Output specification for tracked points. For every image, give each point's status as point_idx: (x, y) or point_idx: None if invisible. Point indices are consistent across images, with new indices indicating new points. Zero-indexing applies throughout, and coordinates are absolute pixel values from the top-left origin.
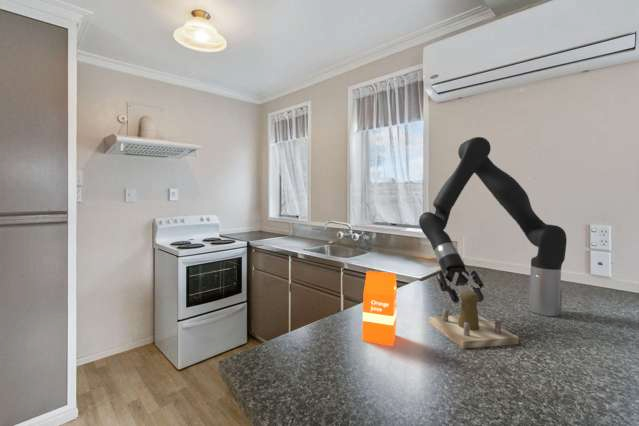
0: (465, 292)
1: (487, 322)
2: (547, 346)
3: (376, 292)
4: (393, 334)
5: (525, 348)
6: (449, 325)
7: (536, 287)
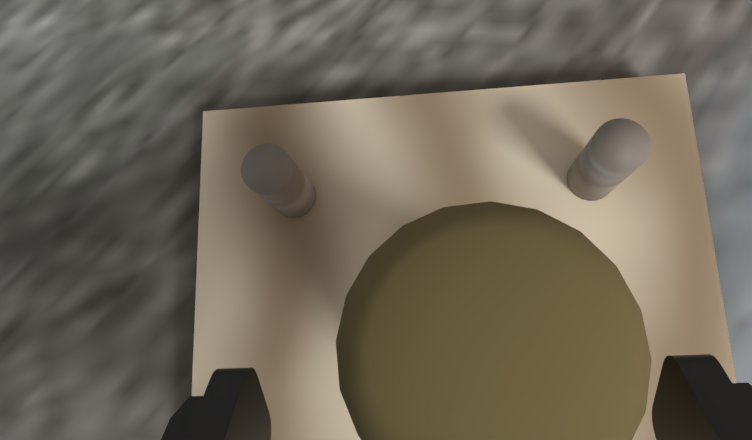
0: (596, 353)
1: None
2: (69, 89)
3: None
4: None
5: (227, 74)
6: None
7: None
